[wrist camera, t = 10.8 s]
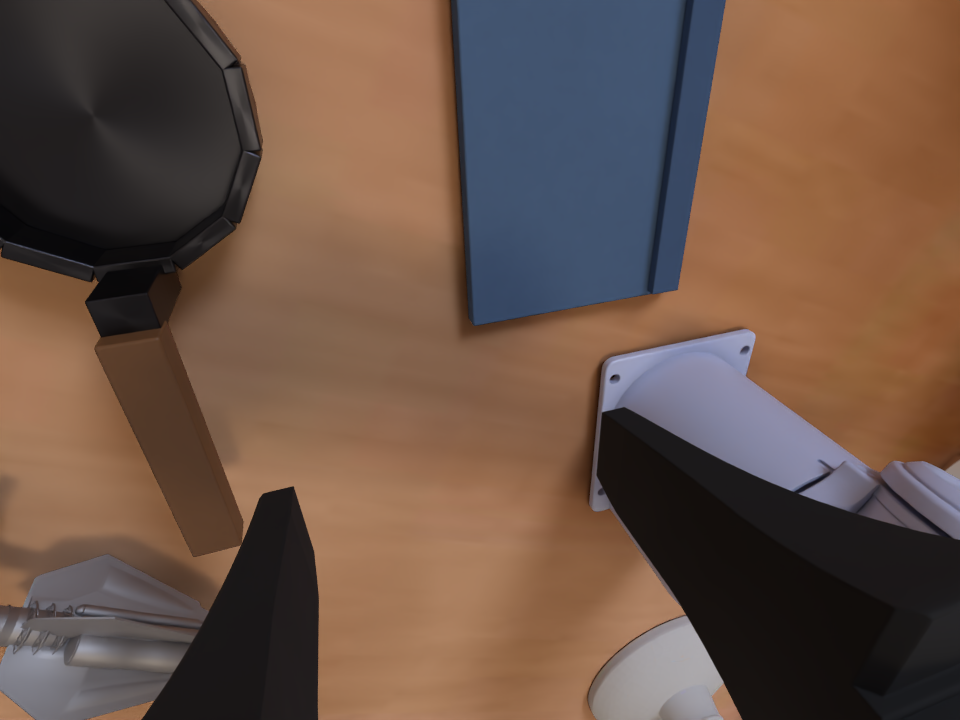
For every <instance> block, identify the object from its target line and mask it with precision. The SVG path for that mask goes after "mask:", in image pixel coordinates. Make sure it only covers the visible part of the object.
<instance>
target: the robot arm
mask: <svg viewBox="0 0 960 720" xmlns="http://www.w3.org/2000/svg"><path fill="white" fill-rule="evenodd" d="M754 342H755V334H754V333H753V332H751V331H750V330H748V329H742V330H738V331H733V332H728V333H723V334H718V335H714V336H709V337H704V338H699V339H695V340H690V341H685V342H680V343H675V344H671V345H666V346H661V347H656V348H651V349H647V350H642V351H637V352H632V353H628V354H623V355H618V356H613V357H610V358H608V359H607V360H606V361H605V362H604V364H603V366H602V372H601V383H600V394H599V404H598V415H597V425H596V436H595V447H594V457H593V468H592V478H591V489H590V500H589V505H590V507H591V508H592V510H593V511H596V512H598V511H603V510H606V509H611V511H612V512H613V514H614V515H615V516H616V518H617V519H618V521H619V522H620V524H621V525H622V527H623V528H624V529H625V531H626V532H627V534H628V535H629V537H630V538H631V540H632V541H633V542H634V544H635V545H636V547H637V548H638V550H639V551H640V553H641V554H642V555H643V557H644V558H645V560H646V561H647V563H648V564H649V565H650V567H651V568H652V570H653V571H654V573H655V574H656V576H657V577H658V578H659V580H660V581H661V583H662V584H663V586H664V587H665V589H666V590H667V591H668V593H669V594H670V595H671V596H672V597H673V599H674V600H675V601H676V602H677V603H678V604H679V605H680V606H681V607H682V609H683V610H684V612H685V614H686V615H687V617H688V619H689V621H690V622H691V624H692V626H693V628H694V629H695V631H696V633H697V635H698V636H699V638H700V640H701V642H702V643H703V645H704V647H705V649H706V651H707V653H708V654H709V656H710V658H711V660H712V662H713V664H714V666H715V667H716V669H717V671H718V673H719V675H720V677H721V678H722V680H723V682H724V684H725V686H726V688H727V690H728V692H729V694H730V696H731V698H732V700H733V702H734V704H735V706H736V708H737V710H738V712H739V714H740V716H741V718H742V720H960V479H958V478H956V477H954V476H953V475H951V474H949V473H947V472H945V471H944V470H942V469H940V468H938V467H936V466H934V465H931V464H929V463H927V462H924V461H916V462H906V463H903V462H900V461H892V462H890V463H889V464H888V465H887V466H886V467H885V468H884V469H883V470H882V471H881V473H880V472H878V471H875V470H873V469H871V468H869V467H868V466H867V465H865V464H864V463H863V462H861V461H860V460H859V459H857V458H856V457H854V456H853V455H852V454H850V453H849V452H848V451H846V450H845V449H844V448H842V447H841V446H839V445H838V444H837V443H835V442H834V441H833V440H831V439H830V438H829V437H827V436H826V435H825V434H823V433H822V432H820V431H819V430H818V429H816V428H815V427H814V426H812V425H811V424H810V423H808V422H807V421H805V420H804V419H803V418H801V417H800V416H799V415H797V414H796V413H795V412H793V411H792V410H790V409H789V408H788V407H786V406H785V405H784V404H782V403H781V402H780V401H778V400H777V399H776V398H774V397H773V396H771V395H770V394H769V393H767V392H766V391H765V390H763V389H762V388H761V387H759V386H758V385H756V384H755V383H754V382H752V381H751V380H750V379H748V378H747V377H746V373H747V369H748V365H749V361H750V357H751V353H752V350H753V346H754ZM613 375H615V376H614V377H613V378H612V379H610V378H611V377H612V376H613ZM318 623H319V595H318V585H317V575H316V566H315V556H314V550H313V547H312V543H311V540H310V537H309V534H308V531H307V528H306V524H305V521H304V518H303V515H302V512H301V509H300V505H299V502H298V499H297V496H296V493H295V490H294V486H293V487H288V488H284V489H280V490H276V491H272V492H268V493H263V495H262V496H261V497H260V498H259V501H258V504H257V507H256V509H255V512H254V515H253V518H252V520H251V523H250V525H249V528H248V530H247V533H246V535H245V537H244V540H243V542H242V545H241V547H240V549H239V552H238V554H237V556H236V558H235V560H234V562H233V564H232V567H231V569H230V571H229V573H228V575H227V577H226V579H225V582H224V584H223V586H222V588H221V590H220V592H219V593H218V595H217V597H216V599H215V601H214V603H213V605H212V607H211V608H210V610H209V612H208V614H207V616H206V618H205V620H204V622H203V624H202V625H201V627H200V629H199V631H198V633H197V634H196V636H195V638H194V639H193V641H192V643H191V645H190V646H189V648H188V650H187V651H186V653H185V655H184V656H183V658H182V660H181V661H180V663H179V664H178V666H177V667H176V669H175V671H174V672H173V674H172V675H171V677H170V679H169V680H168V682H167V683H166V685H165V686H164V688H163V689H162V691H161V692H160V694H159V695H158V697H157V698H156V699H155V701H154V702H153V704H152V705H151V707H150V708H149V710H148V711H147V713H146V714H145V716H144V717H143V718H142V720H318Z"/></svg>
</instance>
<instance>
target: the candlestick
mask: <svg viewBox="0 0 960 720" xmlns="http://www.w3.org/2000/svg"><path fill="white" fill-rule="evenodd" d="M723 683H724V682H723V680H722V678H721V677H720V675H719V673H718V671H717V669H716V667H715V666H714V664H713V662H712V660H711V658H710V656H709V654H708V653H707V651H706V649H705V647H704V645H703V643H702V642H701V640H700V638H699V636H698V635H697V633H696V631H695V629H694V628H693V626H692V624H691V622H690V621H689V619H688V617H687V616H683V617H680V618H677V619H674V620H671V621H669V622H666V623H664V624H662V625H660V626H657V627H655V628H653V629H652V630H650V631H648V632H646V633H645V634H643V635H641V636H640V637H638V638H637V639H635V640H634V641H632V642H631V643H630V644H628V645H627V646H626V647H624V648H623V649H622V650H621V651H619V652H618V653H617V654H616V655H615V656H614V657H613V658H612V659H611V660H610V661H609V662H608V663H607V664H606V665H605V666H604V667H603V668H602V670H601V671H600V672H599V674H598V675H597V677H596V678H595V680H594V682H593V684H592V686H591V688H590V691H589V696H588V702H589V706H590V709H591V711H592V713H593V715H594V717H595V718H596V719H597V720H724V719H723V718H722V717H721V716H720V715H719V713H718V711H717V709H716V706H715V704H714V701H713V699H712V697H711V696H712V695H713V694H714V693H715V692H716V691H717V690H718V689H719V688H720V686H721V685H722V684H723Z"/></svg>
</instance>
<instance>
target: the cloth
mask: <svg viewBox="0 0 960 720" xmlns="http://www.w3.org/2000/svg"><path fill="white" fill-rule="evenodd" d="M725 2H726V0H451V8H452V26H453V44H454V62H455V80H456V98H457V115H458V133H459V151H460V169H461V187H462V205H463V223H464V241H465V259H466V277H467V295H468V313H469V319H470V321H471V322H472V324H473V325H474V326H477V325H483V324H488V323H494V322H499V321H505V320H510V319H516V318H521V317H527V316H532V315H538V314H543V313H549V312H554V311H560V310H565V309H571V308H576V307H582V306H587V305H593V304H598V303H604V302H609V301H615V300H620V299H626V298H631V297H637V296H642V295H648V294H657V293H663V292H668V291H674V290H677V289H678V284H679V278H680V272H681V266H682V260H683V254H684V248H685V242H686V236H687V230H688V224H689V218H690V212H691V206H692V200H693V194H694V188H695V182H696V176H697V170H698V164H699V158H700V152H701V146H702V140H703V134H704V128H705V122H706V116H707V110H708V104H709V98H710V92H711V86H712V80H713V74H714V68H715V62H716V56H717V50H718V44H719V38H720V32H721V26H722V20H723V14H724V8H725Z"/></svg>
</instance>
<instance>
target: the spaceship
mask: <svg viewBox="0 0 960 720" xmlns="http://www.w3.org/2000/svg"><path fill="white" fill-rule="evenodd" d="M208 612H209V611H207V610H206V609H204V608H202V607H201V606H200V603H199V601H197V600H195V599H193V598H191V597H189V596H187V595H185V594H183V593H181V592H179V591H178V590H176V589H174V588H172V587H170V586H168V585H166V584H164V583H162V582H160V581H158V580H156V579H155V578H153V577H151V576H149V575H147V574H145V573H143V572H141V571H139V570H137V569H135V568H134V567H132V566H130V565H128V564H126V563H124V562H122V561H120V560H118V559H116V558H114V557H113V556H111V555H109V554H106V555H103V556H100V557H96V558H93V559H90V560H87V561H83V562H80V563H77V564H74V565H71V566H67V567H64V568H61V569H58V570H54V571H51V572H48V573H45V574H41V575H39V576H37V577H36V578H35V579H34V582H33V584H32V586H31V589H30V591H29V593H28V596H27V598H26V600H25V603H24V605H23V607H13V606H11V605H8V606H3V605H0V646H2V647H7V649H6V651H5V654H4V656H3V659H2V661H1V663H0V691H1V692H2V693H4V694H5V695H6V696H7V697H8V698H10V699H11V700H12V701H13V702H15V703H16V704H17V705H18V706H19V707H21V708H22V709H23V710H24V711H25V712H27V713H28V714H29V715H30V716H31V717H33V718H34V719H35V720H85V719H89V718H93V717H96V716H100V715H103V714H107V713H111V712H114V711H118V710H121V709H125V708H129V707H132V706H136V705H139V704H143V703H147V702H150V701H154V700H155V699H156V698H157V697H158V695H159V694H160V692H161V691H162V689H163V688H164V686H165V685H166V683H167V682H168V680H169V679H170V677H171V675H172V674H173V672H174V671H175V669H176V667H177V666H178V664H179V663H180V661H181V660H182V658H183V656H184V655H185V653H186V651H187V650H188V648H189V646H190V645H191V643H192V641H193V639H194V638H195V636H196V634H197V633H198V631H199V629H200V627H201V625H202V624H203V622H204V620H205V618H206V616H207V614H208Z"/></svg>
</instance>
